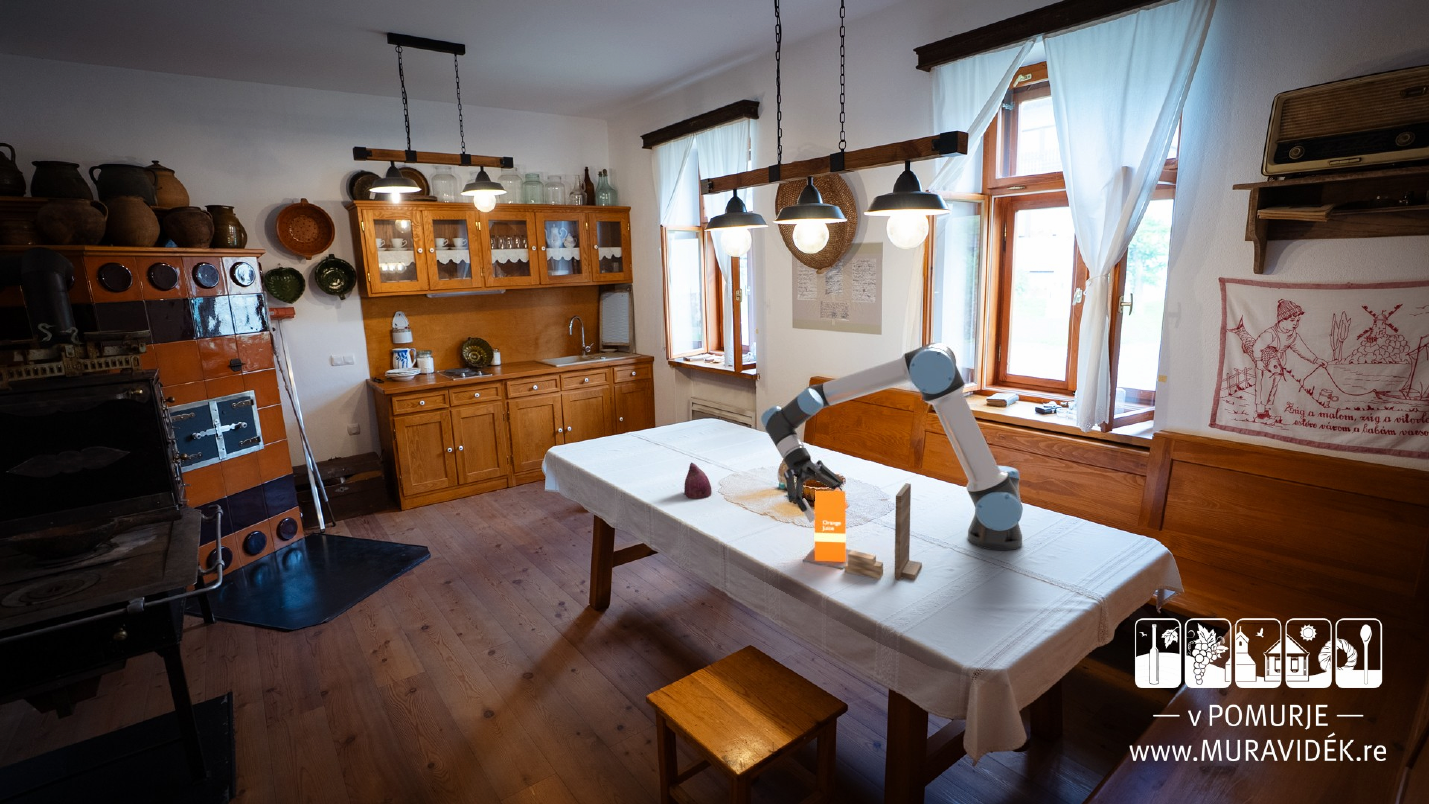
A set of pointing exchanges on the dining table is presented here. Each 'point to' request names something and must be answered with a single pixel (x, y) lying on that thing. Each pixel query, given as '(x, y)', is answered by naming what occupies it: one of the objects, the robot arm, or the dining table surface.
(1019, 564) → the dining table surface
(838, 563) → the grey mat
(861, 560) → the walnut rack
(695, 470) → the vegetable
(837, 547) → the orange juice
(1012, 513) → the robot arm
